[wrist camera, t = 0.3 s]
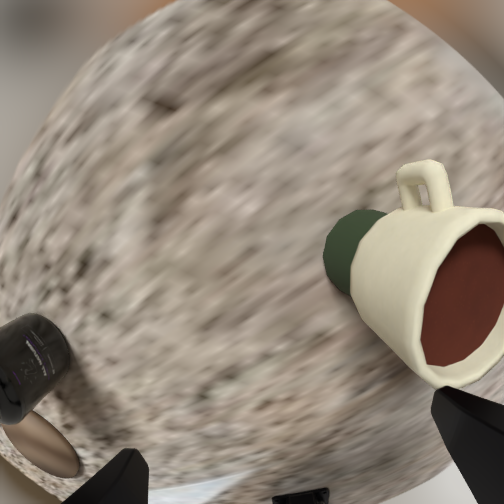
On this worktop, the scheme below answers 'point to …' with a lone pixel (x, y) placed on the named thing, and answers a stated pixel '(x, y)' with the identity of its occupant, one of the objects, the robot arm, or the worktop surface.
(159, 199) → the worktop surface
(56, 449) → the walnut trivet
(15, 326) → the supplement bottle
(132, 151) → the worktop surface
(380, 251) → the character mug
